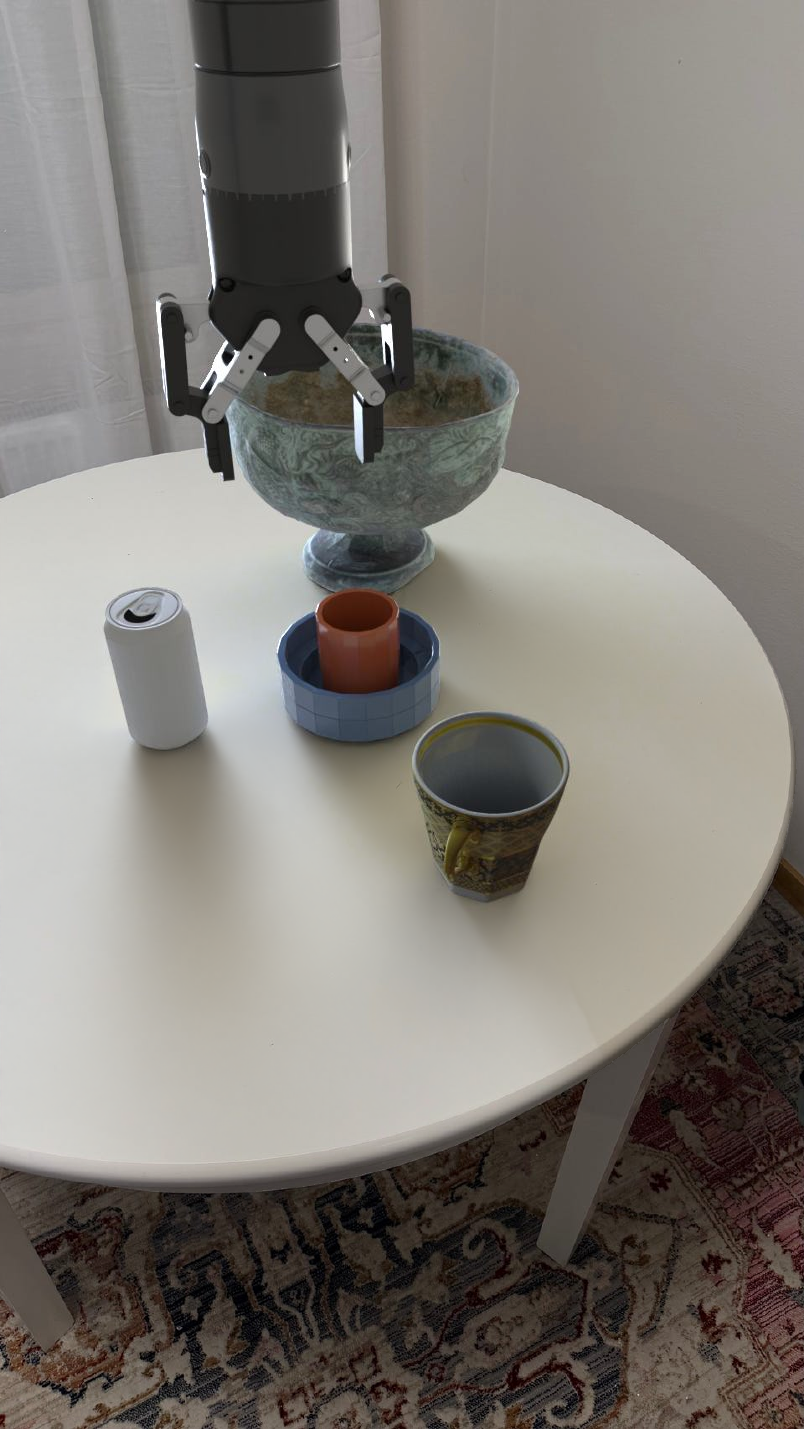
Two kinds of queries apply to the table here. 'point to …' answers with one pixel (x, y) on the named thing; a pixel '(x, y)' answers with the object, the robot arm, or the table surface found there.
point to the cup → (358, 642)
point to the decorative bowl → (376, 454)
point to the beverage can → (156, 667)
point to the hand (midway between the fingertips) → (296, 467)
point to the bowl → (360, 711)
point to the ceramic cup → (488, 798)
